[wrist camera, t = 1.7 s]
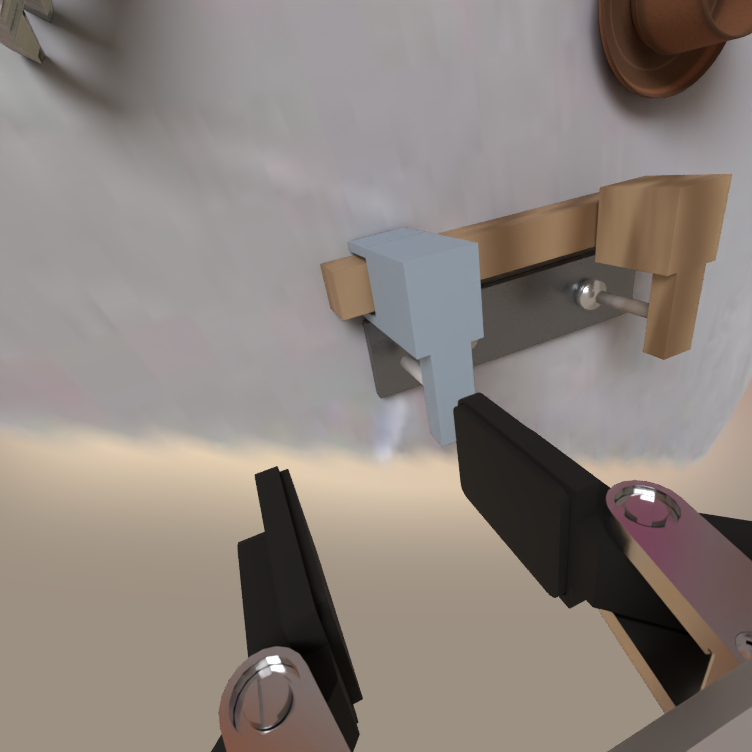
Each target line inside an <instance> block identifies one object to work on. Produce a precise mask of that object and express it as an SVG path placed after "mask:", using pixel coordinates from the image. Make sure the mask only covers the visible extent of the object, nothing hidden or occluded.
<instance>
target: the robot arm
mask: <svg viewBox="0 0 752 752" xmlns="http://www.w3.org/2000/svg"><path fill="white" fill-rule="evenodd" d="M453 415H454V425H455V434H456V443H457V453H458V462H459V471H460V481H461V487H462V490H463V492H464V494H465V496H466V497H467V498H468V500H469V501H470V502H471V503H472V504H473V505H474V507H476V509H477V510H478V511H479V513H480V514H481V515H482V516H483V517H484V518H485V520H486V521H487V522H488V523H489V524H490V526H491V527H492V528H493V529H494V530H495V531H496V533H497V534H498V535H499V536H500V537H501V539H502V540H503V541H504V542H505V543H506V544H507V546H508V547H509V548H510V549H511V550H512V551H513V553H514V554H515V555H516V556H517V557H518V559H519V560H520V561H521V562H522V563H523V564H524V566H525V567H526V568H527V569H528V570H529V571H530V573H531V574H532V575H533V576H534V577H535V579H536V580H537V581H538V582H539V583H540V584H541V586H542V587H543V588H544V589H545V590H546V592H547V593H549V595H550V596H552V597H554V598H556V597H558V596H559V597H560V599H561V600H562V601H563V602H564V603H565V604H566V606H567V607H568V608H572V607H574V606H576V605H577V604H579V603H581V602H583V601H585V600H587V602H588V603H590V605H591V606H592V607H594V608H598V609H599V612H600V614H601V615H602V617H603V618H604V620H605V622H606V623H607V624H608V626H609V628H610V629H611V631H612V632H613V634H614V636H615V637H616V639H617V640H618V642H619V643H620V645H621V646H622V648H623V649H624V651H625V652H626V654H627V656H628V657H629V659H630V660H631V662H632V663H633V665H634V666H635V668H636V670H637V671H638V673H639V674H640V676H641V677H642V679H643V680H644V682H645V684H646V685H647V687H648V688H649V690H650V691H651V693H652V694H653V696H654V697H655V699H656V701H657V702H658V704H659V705H660V707H661V708H662V710H663V712H664V713H665V714H664V715H663V716H661V717H660V718H658V719H657V720H655V721H654V722H652V723H651V724H649V725H648V726H646V727H644V728H643V729H641V730H640V731H638V732H637V733H635V734H634V735H632V736H631V737H629V738H628V739H626V740H625V741H623V742H621V743H620V744H619V745H617V746H615V747H614V748H612V749H611V750H609V751H608V752H752V521H747V520H740V519H734V518H728V517H722V516H715V515H709V514H702V513H698V512H697V511H696V510H694V509H693V508H692V507H691V506H690V505H689V504H688V503H687V502H686V501H685V500H683V499H682V498H681V497H680V496H678V495H677V494H676V493H674V492H673V491H671V490H669V489H667V488H665V487H663V486H661V485H658V484H655V483H651V482H647V481H637V480H633V481H624V482H621V483H618V484H616V485H614V486H613V487H612V488H610V487H608V486H607V485H606V484H604V483H603V482H601V481H600V480H599V479H597V478H596V477H595V476H593V475H592V474H591V473H589V472H588V471H587V470H585V469H584V468H583V467H581V466H580V465H579V464H577V463H576V462H575V461H573V460H572V459H571V458H569V457H568V456H566V455H565V454H564V453H562V452H561V451H560V450H558V449H557V448H556V447H554V446H553V445H552V444H550V443H549V442H548V441H546V440H545V439H544V438H542V437H541V436H540V435H538V434H537V433H536V432H534V431H533V430H531V429H529V428H527V427H526V426H525V425H523V424H522V423H521V422H519V421H518V420H517V419H515V418H514V417H513V416H511V415H510V414H509V413H507V412H506V411H505V410H503V409H502V408H501V407H499V406H498V405H497V404H495V403H494V402H492V401H491V400H490V399H488V398H487V397H486V396H484V395H483V394H481V393H475V394H472V395H470V396H467V397H464V398H461V399H459V400H458V406H456V407H454V409H453ZM255 480H256V486H257V491H258V497H259V502H260V507H261V513H262V519H263V524H264V530H265V532H263V533H261V534H258V535H256V536H253V537H251V538H248V539H246V540H243V541H241V542H238V558H239V569H240V579H241V589H242V599H243V609H244V619H245V630H246V639H247V650H248V659H247V660H246V661H244V662H243V663H242V664H241V665H240V666H239V667H238V668H237V669H236V671H235V672H234V674H233V675H232V676H231V678H230V679H229V680H228V683H227V685H226V687H225V689H224V692H223V694H222V696H221V701H220V707H219V723H220V730H221V733H222V734H221V736H220V738H219V739H218V741H217V743H216V745H215V746H214V748H213V749H212V751H211V752H353V751H354V748H355V746H356V743H357V740H358V737H359V730H358V727H357V723H358V719H357V716H356V712H355V709H354V705H353V704H354V703H357V702H358V701H360V700H362V699H363V698H362V694H361V691H360V688H359V684H358V681H357V678H356V675H355V672H354V669H353V666H352V662H351V659H350V656H349V653H348V649H347V646H346V643H345V640H344V637H343V633H342V630H341V627H340V624H339V621H338V617H337V614H336V611H335V608H334V605H333V602H332V598H331V595H330V592H329V589H328V586H327V583H326V579H325V576H324V573H323V570H322V567H321V563H320V560H319V557H318V554H317V551H316V548H315V545H314V542H313V539H312V536H311V534H310V531H309V528H308V525H307V522H306V519H305V516H304V514H303V510H302V508H301V505H300V502H299V499H298V496H297V493H296V490H295V488H294V484H293V482H292V479H291V476H290V473H289V470H288V469H286V470H283V471H281V472H280V471H279V469H278V467H277V466H276V467H274V468H271V469H268V470H265V471H263V472H260V473H257V474H255Z"/></svg>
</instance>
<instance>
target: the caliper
mask: <svg viewBox="0 0 752 752" xmlns="http://www.w3.org/2000/svg"><path fill="white" fill-rule="evenodd" d="M23 9H25V10H27V11H29V12H31V13H33V14H35V15H36V16H38V17H40V18H42V19H44V20H46V21H48V22H50V23H51V20H52V15H53V5H52V0H0V42H1V43H2V44H3V45H5V46H6V47H8V48H9V49H11V50H13V51H15V52H17V53H19V54H21V55H23V56H25V57H27V58H29V59H32V60H34V61H36V62H38V63H40V64H41V62H42V61H43V59H44V56H45V53H44V51H43V50H42V48H41V46H40V44H39V42H38V40H37V37H36V35H35V33H34V31H33V29H32V27H31V25H30V23H29V20H28V18H27V16H26V14H25V12H24V10H23Z"/></svg>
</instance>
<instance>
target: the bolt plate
mask: <svg viewBox="0 0 752 752" xmlns="http://www.w3.org/2000/svg"><path fill="white" fill-rule="evenodd" d="M595 255H596V251H595V252H591V253H588V254H585V255H581V256H578V257H575V258H571V259H568V260H565V261H561V262H558V263H555V264H551V265H548V266H544V267H541V268H538V269H534V270H531V271H528V272H524V273H521V274H518V275H514V276H511V277H508V278H504V279H501V280H498V281H494V282H491V283H488V284H484V285H481V299H482V316H483V332H484V337H483V338H480V339H477V340H474V341H471V349H472V362H473V366H475V365H478V364H481V363H483V362H486V361H489V360H492V359H495V358H498V357H501V356H503V355H506V354H509V353H512V352H515V351H518V350H521V349H524V348H526V347H529V346H532V345H535V344H538V343H541V342H544V341H546V340H549V339H552V338H555V337H558V336H561V335H564V334H566V333H569V332H572V331H575V330H578V329H581V328H584V327H587V326H589V325H592V324H595V323H598V322H601V321H604V320H607V319H609V318H612V317H615V316H618V315H621V314H624V313H627V312H625V311H622V310H618V309H615V308H612V307H608V306H605V305H602V304H598V303H596V300H595V298H596V295H597V294H598V293H599V292H600V291H605V292H608V293H612V294H616V295H620V296H624V297H627V298H631V299H632V293H633V284H634V274H635V270H633V269H628V268H623V267H618V266H613V265H608V264H603V263H598V262H595ZM363 326H364V331H365V336H366V341H367V346H368V351H369V356H370V361H371V366H372V371H373V376H374V381H375V386H376V391H377V394H378V396H379V397H380V398H383V397H386V396H389V395H392V394H395V393H397V392H400V391H403V390H406V389H409V388H412V387H415V386H418V385H420V384H421V383H420V382H419V381H418V380H416V379H415V378H414V377H413V376H412V375H411V374H410V373H409V372H408V371H407V370H405V369H404V368H403V367H402V366H401V359H402V357H403V356H405V355H411V354H410V353H408V352H407V351H406V350H405V349H403V348H402V347H401V346H400V345H398V344H397V343H396V342H395V341H393V340H392V339H391V338H390V337H389V336H387V335H386V334H385V333H384V332H382V331H381V330H380V329H379V328H377V327H376V326H375V325H374V324H373V323H371V322H370V321H369V320H368V319H367V320H364V321H363ZM411 356H412V355H411ZM412 357H413V356H412ZM415 359H416V358H415ZM416 360H417V361H419V362H420V360H419V359H416Z"/></svg>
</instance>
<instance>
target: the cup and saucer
mask: <svg viewBox="0 0 752 752" xmlns="http://www.w3.org/2000/svg"><path fill="white" fill-rule="evenodd" d="M598 12H599V27H600V34H601V40H602V44H603V48H604V51H605V54H606V57H607V60H608V62H609V65H610V67H611V69H612V71H613V72H614V74H615V76H616V77H617V78H618V80H619V81H620V82H621V83H622V84H623V85H624V86H625V87H626V88H627V89H628V90H630V91H631V92H633V93H635V94H637V95H640V96H643V97H648V98H665V97H669V96H673V95H675V94H678V93H680V92H682V91H684V90H685V89H687V88H688V87H690V86H691V85H692V84H694V83H695V82H696V81H697V80H698V79H699V78H700V77H701V76H702V75H703V74H704V73H705V72H706V71H707V70H708V69H709V68H710V66H711V65H712V64H713V62H714V61H715V60H716V58H717V57H718V55H719V54H720V52H721V51H722V49H723V47H724V45H725V44H726V42H727V41H729V40H733V39H737V38H741V37H744V36H746V35H749V34H751V33H752V0H599V5H598Z"/></svg>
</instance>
